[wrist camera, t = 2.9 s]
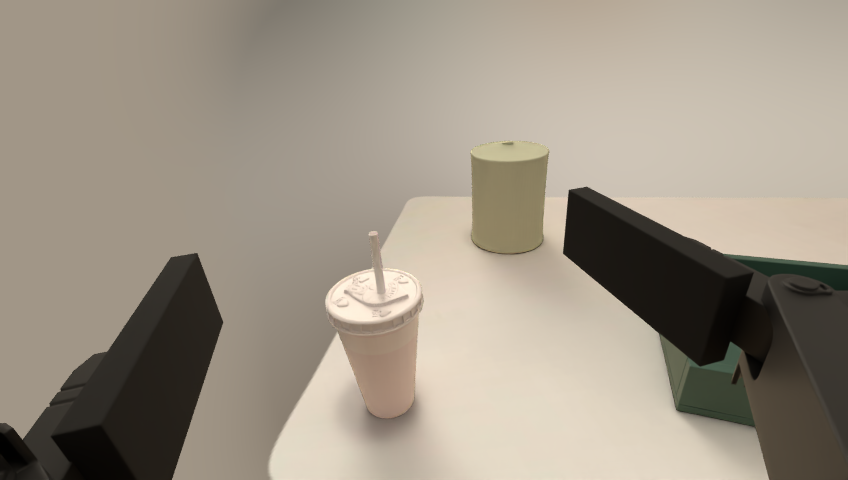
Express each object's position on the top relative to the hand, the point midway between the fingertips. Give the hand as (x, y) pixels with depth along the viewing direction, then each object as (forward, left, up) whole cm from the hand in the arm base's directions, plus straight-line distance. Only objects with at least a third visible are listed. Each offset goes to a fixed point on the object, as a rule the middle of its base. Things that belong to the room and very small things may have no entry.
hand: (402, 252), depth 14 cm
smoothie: (+8, +6, -18) cm, 20 cm away
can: (+36, +2, -18) cm, 40 cm away
